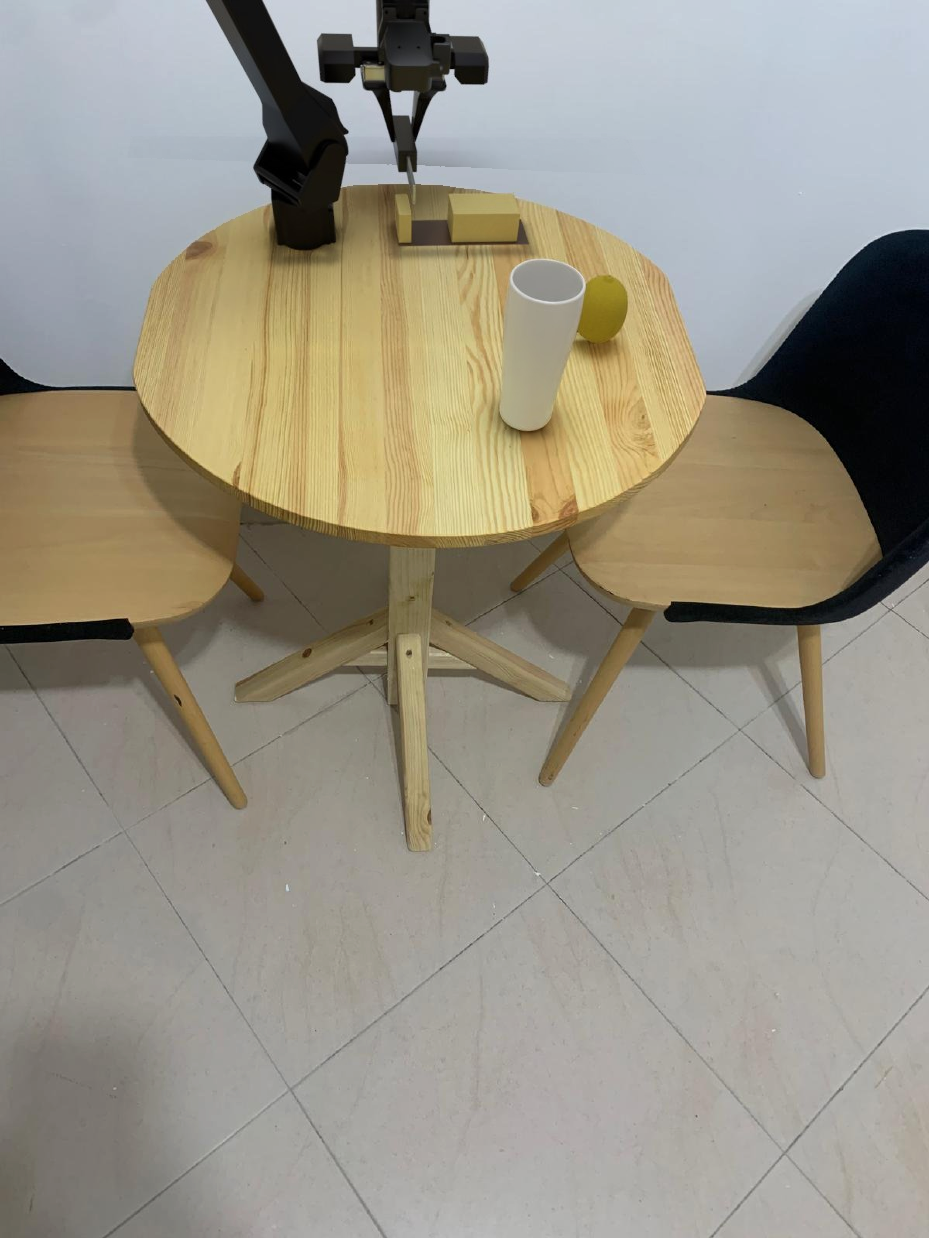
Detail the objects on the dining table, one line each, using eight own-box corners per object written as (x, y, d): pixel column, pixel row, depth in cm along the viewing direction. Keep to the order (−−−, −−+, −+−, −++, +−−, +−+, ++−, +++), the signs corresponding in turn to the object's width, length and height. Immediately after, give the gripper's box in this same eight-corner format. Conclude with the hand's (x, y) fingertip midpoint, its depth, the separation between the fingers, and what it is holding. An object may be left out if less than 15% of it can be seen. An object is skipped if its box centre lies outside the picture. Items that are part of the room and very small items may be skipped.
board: (398, 254, 93) (398, 246, 92) (394, 228, 96) (394, 220, 95) (528, 252, 95) (529, 244, 94) (520, 226, 98) (521, 219, 97)
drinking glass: (499, 442, 76) (518, 306, 64) (485, 396, 80) (500, 259, 67) (565, 435, 77) (597, 301, 65) (548, 390, 81) (575, 255, 68)
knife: (404, 203, 87) (404, 181, 85) (391, 136, 96) (391, 115, 94) (423, 203, 87) (424, 181, 85) (409, 136, 96) (409, 115, 94)
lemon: (620, 360, 84) (638, 294, 78) (569, 356, 84) (584, 290, 77) (615, 328, 87) (633, 262, 81) (567, 325, 87) (580, 258, 80)
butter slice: (398, 243, 92) (398, 214, 89) (395, 222, 94) (394, 194, 92) (411, 243, 92) (411, 214, 89) (407, 222, 95) (407, 193, 92)
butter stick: (451, 242, 93) (453, 214, 90) (447, 222, 95) (448, 193, 92) (516, 241, 94) (520, 213, 91) (510, 221, 96) (513, 193, 94)
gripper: (314, 10, 75) (327, 176, 88) (503, 14, 77) (489, 175, 90) (310, -33, 81) (323, 128, 94) (486, -28, 83) (475, 129, 96)
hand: (402, 141), depth 93 cm, fingers closed on knife, 2 cm apart
